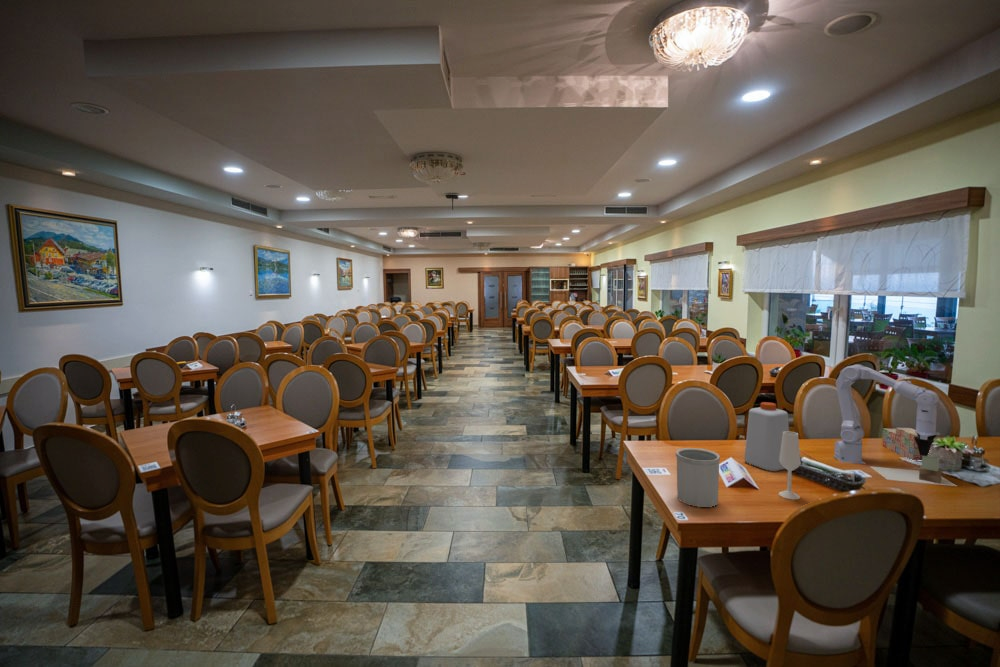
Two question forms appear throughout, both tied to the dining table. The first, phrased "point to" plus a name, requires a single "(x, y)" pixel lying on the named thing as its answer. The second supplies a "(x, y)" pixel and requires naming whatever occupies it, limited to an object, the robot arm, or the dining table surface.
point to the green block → (930, 462)
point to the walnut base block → (930, 475)
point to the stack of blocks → (902, 442)
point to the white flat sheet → (906, 475)
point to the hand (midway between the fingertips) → (924, 453)
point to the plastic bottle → (765, 436)
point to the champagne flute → (789, 459)
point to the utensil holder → (697, 476)
